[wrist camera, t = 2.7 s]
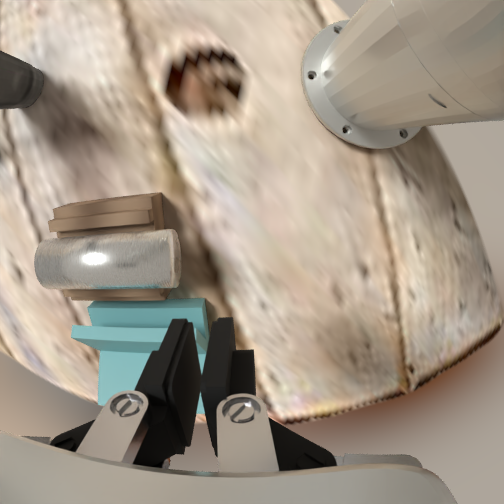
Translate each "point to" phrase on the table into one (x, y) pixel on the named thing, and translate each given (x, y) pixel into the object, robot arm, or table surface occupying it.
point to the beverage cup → (18, 82)
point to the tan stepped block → (105, 222)
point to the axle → (110, 261)
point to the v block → (136, 338)
